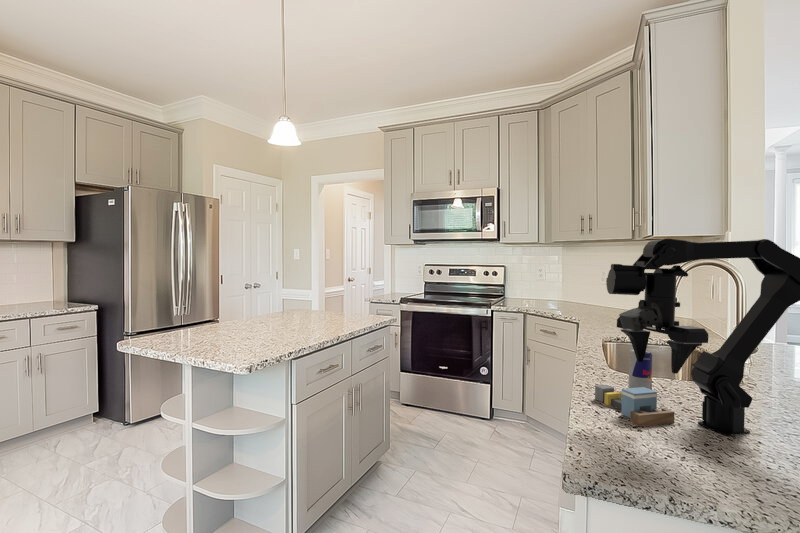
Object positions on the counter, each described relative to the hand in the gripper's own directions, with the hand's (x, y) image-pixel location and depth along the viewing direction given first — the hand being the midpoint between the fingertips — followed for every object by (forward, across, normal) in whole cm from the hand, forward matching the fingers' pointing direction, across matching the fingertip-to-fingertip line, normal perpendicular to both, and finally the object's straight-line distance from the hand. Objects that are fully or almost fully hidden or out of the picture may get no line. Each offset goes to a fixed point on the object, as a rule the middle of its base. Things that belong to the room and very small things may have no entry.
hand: (656, 367), depth 89 cm
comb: (+12, -1, 0) cm, 13 cm away
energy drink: (+13, -17, +12) cm, 24 cm away
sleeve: (+13, -4, 0) cm, 13 cm away
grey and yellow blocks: (+13, -9, 0) cm, 15 cm away
